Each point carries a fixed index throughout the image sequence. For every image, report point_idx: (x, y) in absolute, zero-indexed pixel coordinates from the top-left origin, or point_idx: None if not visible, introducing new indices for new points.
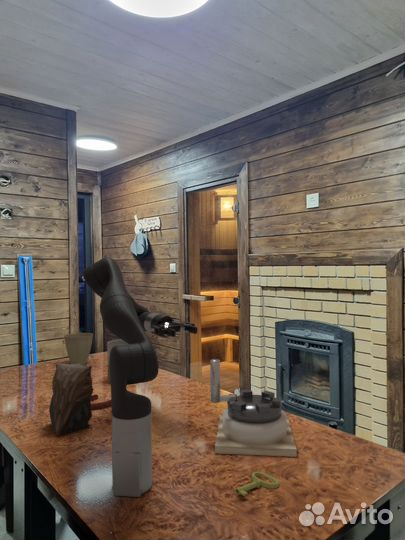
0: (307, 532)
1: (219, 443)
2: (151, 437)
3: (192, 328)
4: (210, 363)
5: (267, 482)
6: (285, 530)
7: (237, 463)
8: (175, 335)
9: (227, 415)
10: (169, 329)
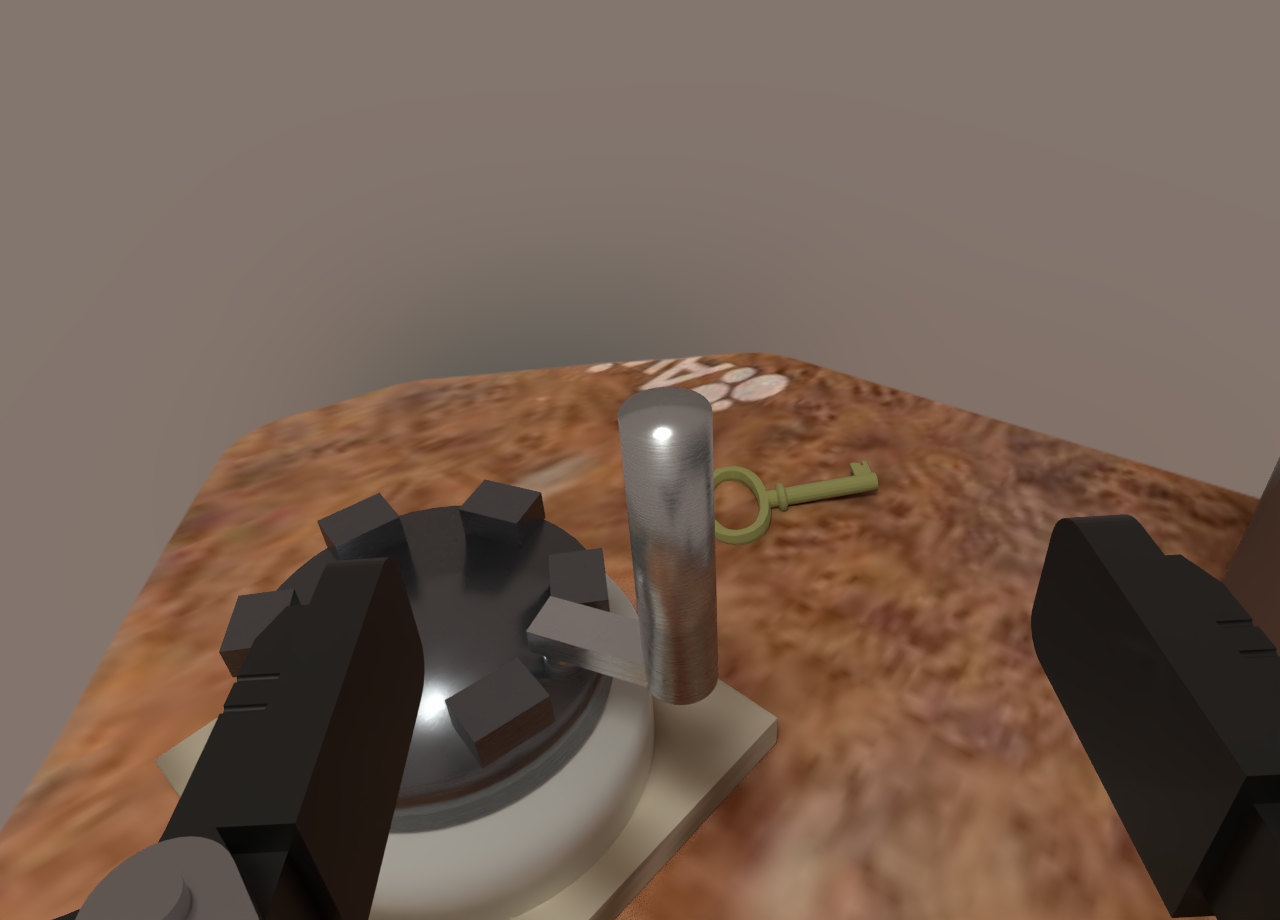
0: (797, 365)
1: (738, 727)
2: (1257, 508)
3: (365, 696)
4: (708, 444)
5: (750, 477)
6: (839, 382)
7: (739, 625)
8: (1034, 608)
9: (586, 748)
10: (1236, 670)
